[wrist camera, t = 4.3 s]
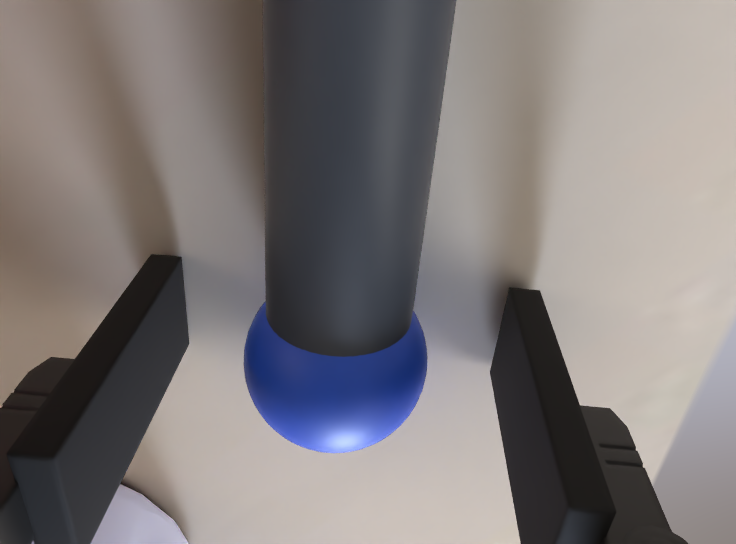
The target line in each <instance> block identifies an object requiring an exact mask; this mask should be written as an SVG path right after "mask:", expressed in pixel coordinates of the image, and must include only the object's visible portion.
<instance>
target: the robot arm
mask: <svg viewBox="0 0 736 544" xmlns="http://www.w3.org/2000/svg"><path fill="white" fill-rule="evenodd" d="M188 345H189V336H188V325H187V314H186V302H185V291H184V280H183V268H182V257H177V256H167V255H156V254H151V255H150V257H149V258H148V259H147V261H146V262H145V264H144V265H143V266H142V268H141V269H140V270H139V272H138V273H137V275H136V276H135V277H134V279H133V280H132V281H131V283H130V284H129V286H128V287H127V288H126V290H125V291H124V292H123V294H122V295H121V297H120V298H119V299H118V301H117V302H116V303H115V305H114V306H113V308H112V309H111V310H110V312H109V313H108V314H107V316H106V317H105V319H104V320H103V321H102V323H101V324H100V325H99V327H98V328H97V330H96V331H95V332H94V334H93V335H92V336H91V338H90V339H89V341H88V342H87V343H86V345H85V346H84V347H83V349H82V350H81V352H80V353H79V354H78V356H77V357H76V358H75V359H67V358H56V357H50V358H49V359H47V360H46V361H44V362H43V363H41V364H40V365H38V366H37V367H35V368H34V369H32V370H31V371H29V372H28V374H27V375H26V376H25V377H24V378H23V380H22V381H21V382H20V383H19V385H18V386H17V387H16V388H15V391H14V393H11V395H10V396H9V397H8V398H7V400H6V401H5V402H4V403H3V407H2V408H0V544H31V543H32V542H33V541H34V544H91V542H92V540H93V538H94V536H95V534H96V532H97V530H98V528H99V526H100V524H101V522H102V520H103V517H104V515H105V513H106V511H107V509H108V507H109V505H110V503H111V501H112V499H113V497H114V495H115V493H116V491H117V489H118V487H119V485H120V483H121V481H122V479H123V477H124V475H125V473H126V471H127V469H128V467H129V465H130V463H131V461H132V459H133V457H134V455H135V453H136V451H137V448H138V446H139V444H140V442H141V440H142V438H143V436H144V434H145V432H146V430H147V428H148V426H149V424H150V422H151V420H152V418H153V416H154V414H155V412H156V410H157V408H158V406H159V404H160V402H161V400H162V398H163V396H164V394H165V392H166V390H167V388H168V386H169V384H170V382H171V380H172V377H173V375H174V373H175V371H176V369H177V367H178V365H179V363H180V361H181V359H182V357H183V355H184V353H185V351H186V349H187V347H188ZM490 375H491V380H492V386H493V391H494V397H495V403H496V408H497V414H498V419H499V425H500V430H501V436H502V441H503V447H504V453H505V458H506V464H507V469H508V475H509V480H510V486H511V491H512V497H513V503H514V508H515V514H516V519H517V525H518V530H519V536H520V541H521V544H688V543H687V542H686V541H685V540H684V539H683V538H681V537H679V536H678V535H676V534H674V533H673V532H672V531H671V529H670V527H669V524H668V522H667V520H666V517H665V515H664V512H663V510H662V508H661V505H660V503H659V501H658V498H657V496H656V494H655V491H654V489H653V487H652V484H651V482H650V479H649V477H648V475H647V472H646V470H645V468H643V466H642V465H643V463H642V461H641V458H640V456H639V454H638V451H636V446H635V444H634V442H633V439H632V437H631V435H630V432H629V430H628V428H627V426H626V425H625V424H624V423H623V422H622V421H621V420H620V419H619V418H618V416H617V415H616V414H615V413H614V412H613V411H612V410H611V409H610V408H600V407H590V406H580V405H579V402H578V399H577V396H576V393H575V390H574V388H573V385H572V382H571V379H570V376H569V373H568V370H567V367H566V364H565V362H564V359H563V356H562V353H561V350H560V347H559V344H558V341H557V339H556V336H555V333H554V330H553V327H552V324H551V321H550V318H549V316H548V313H547V310H546V307H545V304H544V301H543V298H542V295H541V293H540V290H529V289H519V288H509V292H508V296H507V301H506V305H505V309H504V314H503V318H502V322H501V327H500V331H499V335H498V340H497V344H496V348H495V353H494V357H493V361H492V366H491V370H490Z"/></svg>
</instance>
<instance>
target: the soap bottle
mask: <svg viewBox="0 0 736 544" xmlns="http://www.w3.org/2000/svg"><path fill="white" fill-rule="evenodd" d="M31 544H34V541H33V542H32V543H31ZM91 544H189V543H188V541H187V540H186V538H185V536H184V535H183V533H182V532H181V530H180V529H179V527H178V525H177V524H176V522H175V521H174V520H173V519H172V518H171V517H169V516H168V515H167V514H166V513H164V512H163V511H162V510H161V509H159V508H158V507H157V506H156V505H154V504H153V503H152V502H151V501H150V500H148V499H147V498H146V497H145V496H143V495H142V494H140V493H138V492H136V491H134V490H132V489H130V488H127V487H125V486H123V485H121V484H120V485H119V487H118V489H117V491H116V493H115V495H114V497H113V499H112V501H111V503H110V505H109V507H108V509H107V511H106V513H105V515H104V517H103V520H102V522H101V524H100V526H99V528H98V530H97V532H96V534H95V536H94V538H93V540H92V542H91Z"/></svg>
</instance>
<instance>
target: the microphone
mask: <svg viewBox="0 0 736 544" xmlns="http://www.w3.org/2000/svg"><path fill="white" fill-rule="evenodd" d="M455 6H456V0H263V73H264V177H265V280H266V301H265V303H264V304H263V305H262V306H261V307H260V309H259V311H258V312H257V314H256V316H255V318H254V320H253V322H252V324H251V326H250V329H249V331H248V335H247V339H246V344H245V349H244V372H245V379H246V383H247V387H248V390H249V393H250V396H251V398H252V400H253V402H254V404H255V406H256V408H257V409H258V411H259V413H260V414H261V415H262V417H263V418H264V419H265V421H266V422H267V423H268V424H269V425H270V426H271V427H272V428H273V429H274V430H275V431H276V432H278V433H279V434H280V435H282V436H283V437H284V438H286V439H287V440H289V441H291V442H292V443H294V444H297V445H299V446H301V447H304V448H307V449H310V450H314V451H319V452H326V453H344V452H351V451H356V450H360V449H363V448H365V447H368V446H371V445H373V444H375V443H377V442H379V441H381V440H383V439H384V438H386V437H387V436H389V435H390V434H391V433H392V432H394V431H395V430H396V429H397V428H398V427H399V426H400V425H401V424H402V423H403V422H404V421H405V420H406V418H407V417H408V416H409V415H410V413H411V412H412V410H413V409H414V407H415V405H416V403H417V401H418V399H419V397H420V394H421V392H422V389H423V385H424V381H425V377H426V371H427V348H426V342H425V337H424V333H423V330H422V328H421V325H420V323H419V321H418V318H417V316H416V314H415V313H414V311H413V306H414V299H415V292H416V285H417V278H418V271H419V263H420V256H421V249H422V242H423V235H424V228H425V220H426V213H427V206H428V199H429V192H430V185H431V178H432V170H433V163H434V156H435V149H436V142H437V135H438V127H439V120H440V113H441V106H442V99H443V92H444V84H445V77H446V70H447V63H448V56H449V49H450V42H451V34H452V27H453V20H454V13H455Z"/></svg>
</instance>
